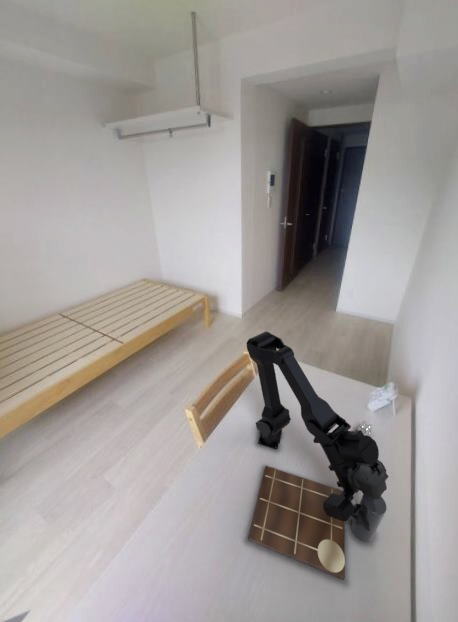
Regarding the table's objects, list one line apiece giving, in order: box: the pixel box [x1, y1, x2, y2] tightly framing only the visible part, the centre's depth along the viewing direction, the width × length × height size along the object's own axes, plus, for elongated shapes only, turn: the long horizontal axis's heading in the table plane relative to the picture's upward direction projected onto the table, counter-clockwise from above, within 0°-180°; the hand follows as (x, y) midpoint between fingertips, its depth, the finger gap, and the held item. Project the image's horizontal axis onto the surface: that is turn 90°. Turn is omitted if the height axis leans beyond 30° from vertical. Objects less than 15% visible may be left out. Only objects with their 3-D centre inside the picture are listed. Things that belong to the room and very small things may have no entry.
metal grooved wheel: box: [356, 419, 373, 436], centre depth 91 cm, size 5×3×5 cm, turn 129°
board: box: [248, 465, 346, 581], centre depth 71 cm, size 22×19×2 cm
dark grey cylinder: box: [350, 493, 388, 543], centre depth 65 cm, size 5×5×13 cm
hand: (373, 521), depth 64 cm, fingers closed on dark grey cylinder, 5 cm apart
